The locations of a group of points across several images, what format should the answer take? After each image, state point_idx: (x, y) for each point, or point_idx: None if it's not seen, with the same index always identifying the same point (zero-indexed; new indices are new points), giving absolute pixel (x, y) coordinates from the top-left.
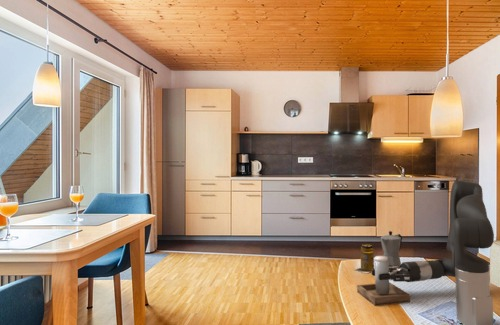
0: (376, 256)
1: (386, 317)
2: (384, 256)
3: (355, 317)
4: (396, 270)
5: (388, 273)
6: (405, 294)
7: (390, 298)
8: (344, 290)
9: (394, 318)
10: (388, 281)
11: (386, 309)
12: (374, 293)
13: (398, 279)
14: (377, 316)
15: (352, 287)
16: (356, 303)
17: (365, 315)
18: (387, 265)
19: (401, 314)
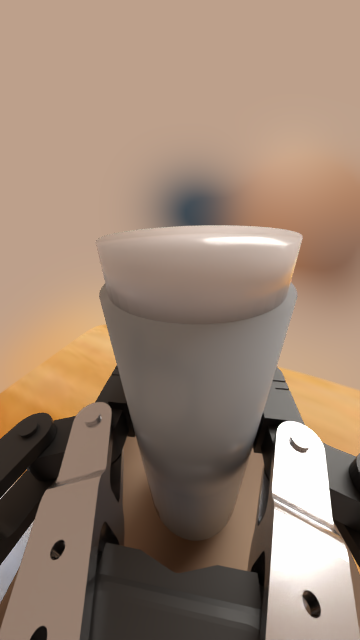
0: (255, 227)
1: (46, 375)
2: (236, 246)
3: (106, 327)
4: (48, 578)
5: (134, 430)
6: (4, 614)
7: None
8: (294, 374)
9: (20, 389)
10: (143, 465)
11: (77, 407)
12: None
13: (16, 516)
14: (71, 360)
15: (345, 417)
16: None
17: (98, 343)
18: (112, 345)
19: (5, 430)
